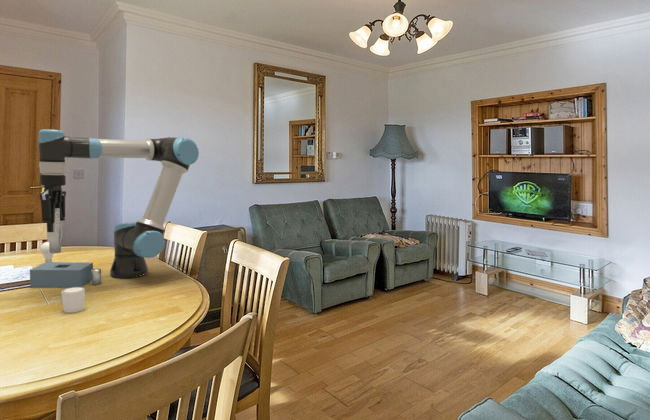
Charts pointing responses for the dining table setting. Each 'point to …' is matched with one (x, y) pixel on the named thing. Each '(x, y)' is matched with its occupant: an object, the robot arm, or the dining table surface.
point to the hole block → (60, 275)
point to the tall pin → (56, 245)
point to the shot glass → (73, 299)
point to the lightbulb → (46, 252)
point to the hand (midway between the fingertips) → (54, 239)
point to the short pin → (96, 276)
